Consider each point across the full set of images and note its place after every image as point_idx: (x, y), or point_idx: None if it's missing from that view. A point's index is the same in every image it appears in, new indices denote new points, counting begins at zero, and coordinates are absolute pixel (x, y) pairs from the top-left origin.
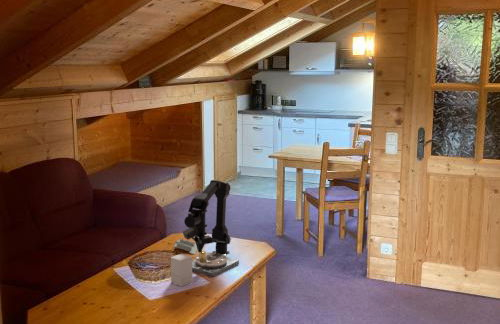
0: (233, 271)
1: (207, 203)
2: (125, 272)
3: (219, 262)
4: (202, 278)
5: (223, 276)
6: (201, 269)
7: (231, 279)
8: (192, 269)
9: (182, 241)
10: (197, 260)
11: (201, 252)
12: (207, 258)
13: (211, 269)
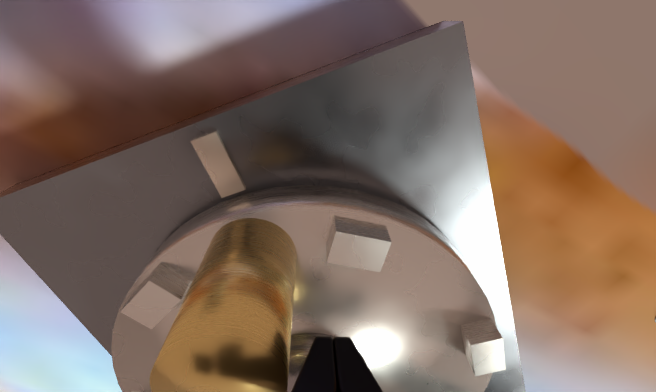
0: (106, 379)
1: None
2: None
3: (132, 383)
4: (5, 66)
5: (9, 276)
6: (155, 156)
7: None
8: (285, 84)
9: None
10: (332, 220)
11: (207, 364)
12: (300, 342)
13: (109, 250)
